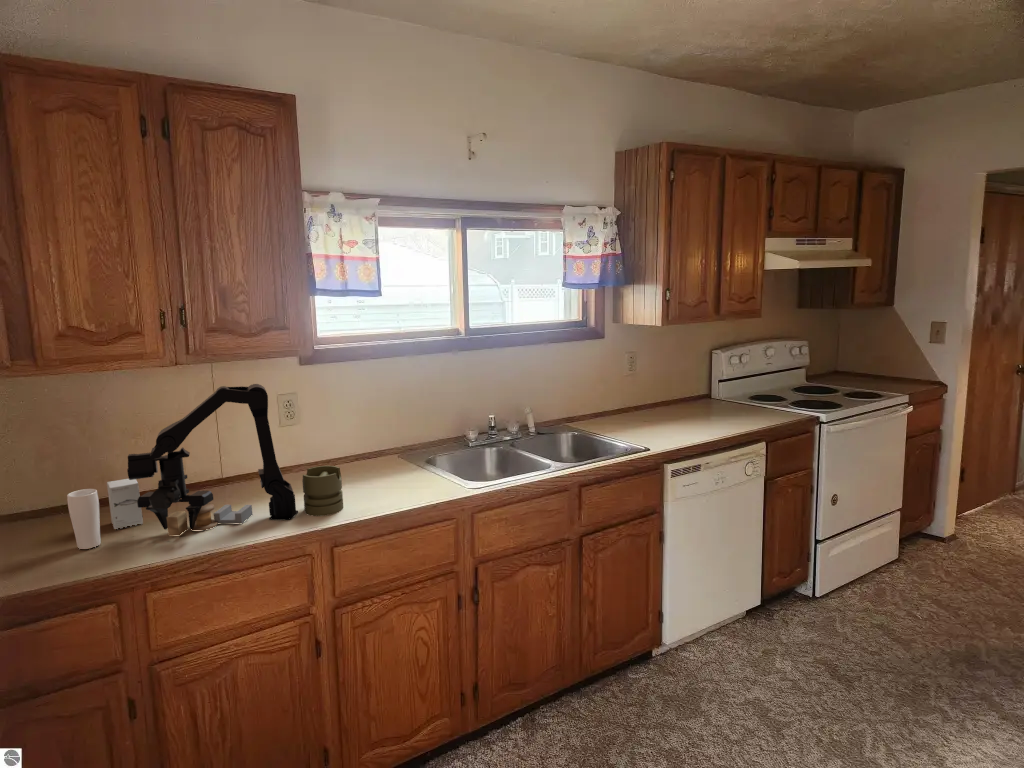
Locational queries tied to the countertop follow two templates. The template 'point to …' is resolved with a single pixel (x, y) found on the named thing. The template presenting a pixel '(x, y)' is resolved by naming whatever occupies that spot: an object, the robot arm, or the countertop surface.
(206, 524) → the spool
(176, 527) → the wooden block
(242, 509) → the grey u-shaped channel block
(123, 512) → the supplement box
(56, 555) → the countertop surface
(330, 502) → the grooved olive planter pot
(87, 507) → the drinking glass
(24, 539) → the countertop surface
